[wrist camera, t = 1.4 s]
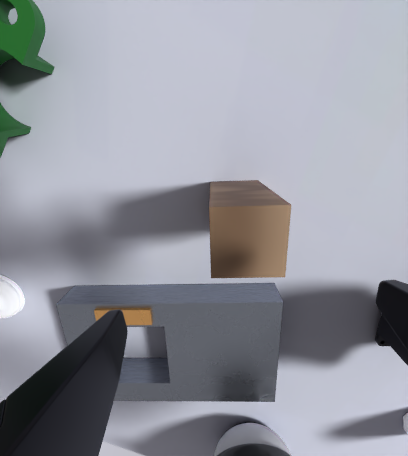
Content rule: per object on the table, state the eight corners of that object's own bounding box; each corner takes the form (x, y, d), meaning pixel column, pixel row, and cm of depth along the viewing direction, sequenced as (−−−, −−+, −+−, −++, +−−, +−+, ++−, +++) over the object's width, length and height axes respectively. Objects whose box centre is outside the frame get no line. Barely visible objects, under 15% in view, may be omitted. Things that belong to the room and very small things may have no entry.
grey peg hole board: (274, 283, 23) (284, 304, 20) (267, 375, 27) (275, 404, 24) (74, 285, 24) (53, 306, 21) (95, 374, 28) (81, 403, 25)
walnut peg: (257, 180, 20) (291, 204, 12) (256, 225, 21) (285, 277, 13) (210, 181, 20) (209, 206, 12) (211, 226, 22) (211, 278, 13)
